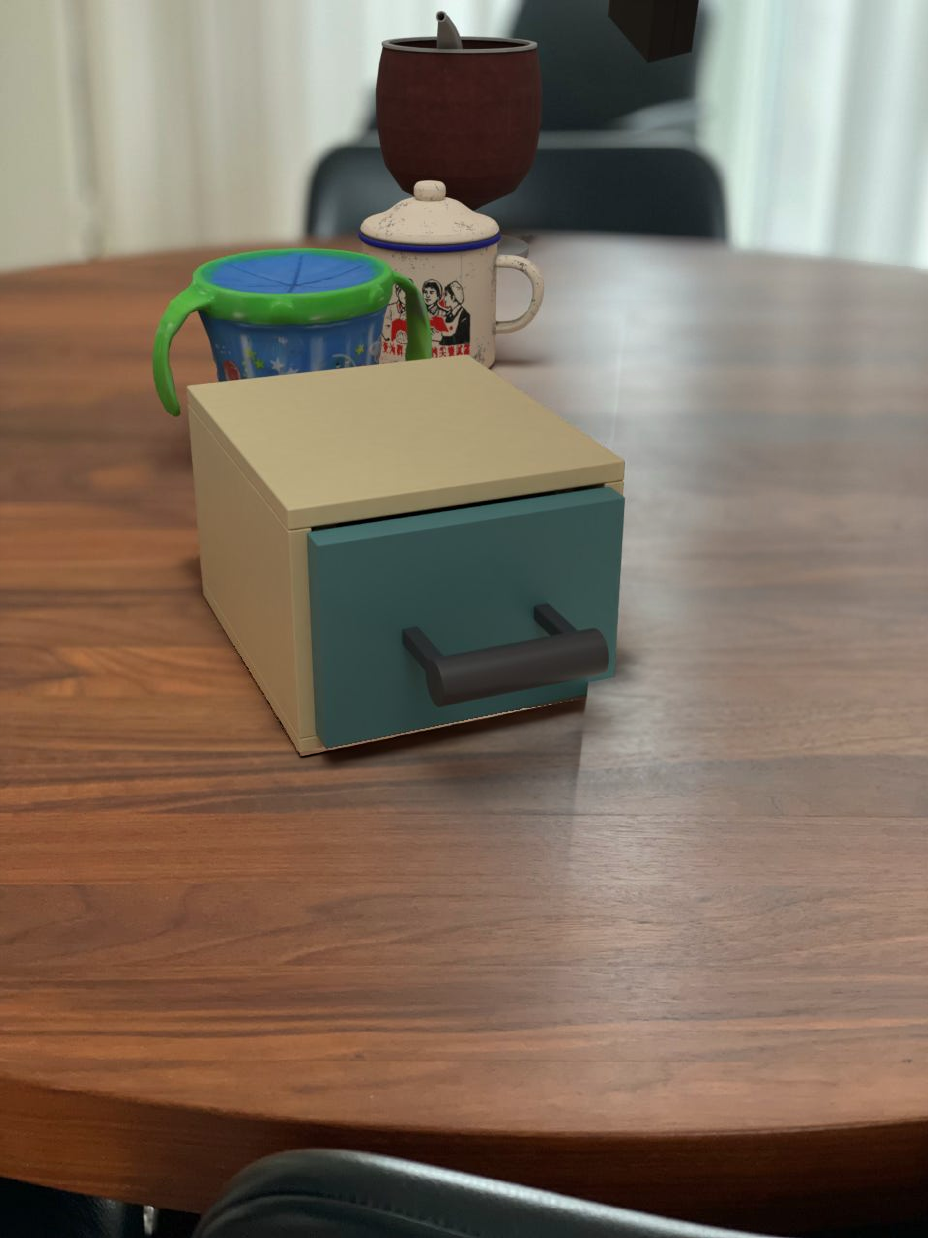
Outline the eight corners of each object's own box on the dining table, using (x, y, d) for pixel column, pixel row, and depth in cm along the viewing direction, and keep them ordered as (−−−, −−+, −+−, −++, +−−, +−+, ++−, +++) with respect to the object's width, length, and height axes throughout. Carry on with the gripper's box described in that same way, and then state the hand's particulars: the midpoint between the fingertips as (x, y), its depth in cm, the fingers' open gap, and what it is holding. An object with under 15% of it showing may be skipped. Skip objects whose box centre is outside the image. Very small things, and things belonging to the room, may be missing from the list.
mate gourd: (396, 233, 134) (394, -3, 125) (546, 239, 132) (554, 0, 123) (357, 270, 120) (351, 9, 111) (524, 278, 118) (531, 12, 109)
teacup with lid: (345, 378, 93) (340, 191, 88) (380, 340, 101) (377, 167, 96) (530, 390, 91) (535, 200, 86) (551, 351, 99) (557, 175, 94)
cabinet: (612, 693, 56) (626, 459, 52) (300, 758, 52) (287, 509, 48) (466, 552, 68) (467, 353, 64) (202, 595, 64) (185, 384, 60)
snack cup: (186, 504, 73) (169, 305, 69) (141, 440, 82) (123, 259, 78) (468, 463, 79) (469, 277, 74) (398, 407, 88) (395, 237, 83)
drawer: (671, 745, 51) (688, 542, 48) (366, 814, 47) (360, 597, 44) (473, 555, 66) (475, 389, 62) (228, 595, 62) (215, 420, 58)
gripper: (980, -1231, 29) (773, -71, 48) (362, -1212, 26) (405, 16, 45) (1237, -1205, 25) (898, 51, 44) (538, -1179, 22) (503, 155, 41)
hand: (649, 32), depth 44 cm, fingers closed
